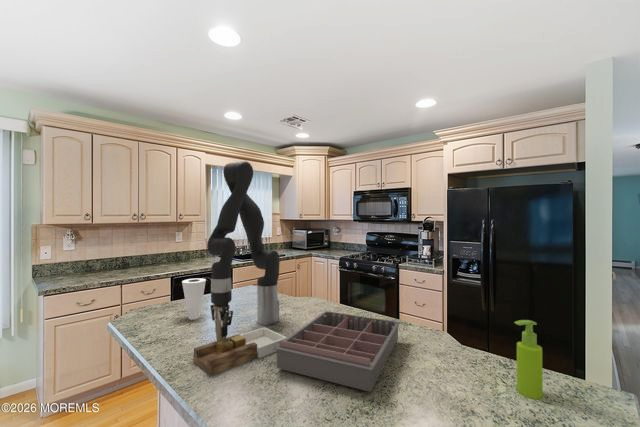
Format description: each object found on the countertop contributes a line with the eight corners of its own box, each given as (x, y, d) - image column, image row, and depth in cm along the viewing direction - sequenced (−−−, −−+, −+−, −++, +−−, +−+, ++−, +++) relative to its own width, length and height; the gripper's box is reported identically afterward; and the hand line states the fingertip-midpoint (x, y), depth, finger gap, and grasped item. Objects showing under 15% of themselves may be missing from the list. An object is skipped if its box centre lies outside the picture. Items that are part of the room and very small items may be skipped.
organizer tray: (400, 342, 118) (400, 316, 118) (372, 399, 82) (372, 362, 82) (325, 329, 131) (325, 306, 131) (273, 372, 95) (273, 341, 95)
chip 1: (227, 350, 106) (227, 338, 106) (232, 353, 103) (232, 342, 104) (216, 354, 103) (216, 342, 103) (222, 357, 101) (222, 345, 101)
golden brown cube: (239, 345, 110) (239, 334, 110) (245, 349, 107) (245, 338, 107) (229, 349, 107) (229, 338, 107) (235, 352, 104) (235, 341, 104)
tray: (264, 335, 124) (264, 327, 124) (287, 346, 114) (287, 337, 114) (236, 345, 115) (236, 335, 115) (259, 358, 105) (259, 348, 105)
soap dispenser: (508, 387, 87) (508, 317, 87) (531, 386, 87) (530, 317, 87) (523, 399, 81) (523, 325, 81) (548, 398, 82) (547, 324, 82)
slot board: (238, 345, 114) (238, 333, 114) (257, 357, 105) (257, 344, 105) (193, 361, 102) (193, 348, 102) (210, 375, 93) (210, 361, 93)
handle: (222, 349, 112) (222, 308, 112) (210, 345, 115) (210, 305, 115) (232, 344, 116) (232, 305, 116) (220, 340, 119) (220, 302, 119)
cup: (210, 316, 147) (210, 279, 147) (190, 323, 138) (190, 284, 138) (196, 313, 152) (196, 277, 152) (177, 319, 143) (177, 281, 143)
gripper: (239, 291, 113) (239, 336, 113) (221, 284, 123) (221, 326, 123) (221, 294, 108) (221, 342, 108) (203, 288, 118) (203, 331, 118)
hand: (221, 334), depth 115 cm, fingers closed on handle, 4 cm apart
